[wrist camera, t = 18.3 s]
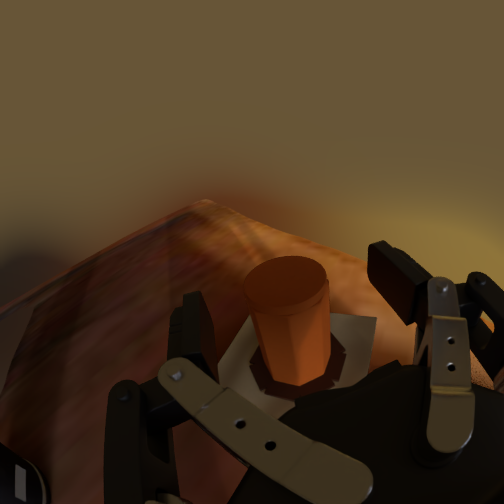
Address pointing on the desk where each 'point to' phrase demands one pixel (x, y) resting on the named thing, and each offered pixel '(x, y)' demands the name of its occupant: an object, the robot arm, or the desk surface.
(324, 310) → the hat
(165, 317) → the desk surface
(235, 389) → the grey stone tile
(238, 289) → the desk surface
